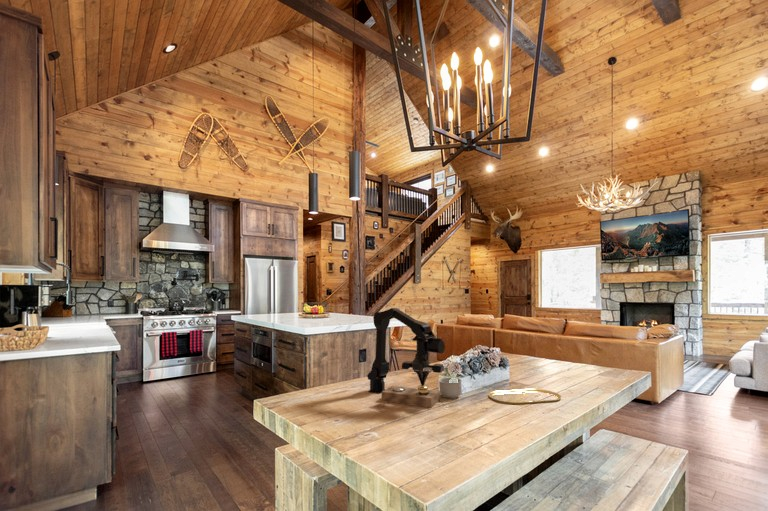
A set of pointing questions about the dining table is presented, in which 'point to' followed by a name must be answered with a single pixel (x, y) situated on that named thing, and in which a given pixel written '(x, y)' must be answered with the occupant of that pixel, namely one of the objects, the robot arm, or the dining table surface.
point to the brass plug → (422, 390)
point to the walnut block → (411, 397)
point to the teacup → (450, 388)
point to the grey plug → (399, 389)
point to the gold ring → (521, 392)
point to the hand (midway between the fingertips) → (422, 385)
